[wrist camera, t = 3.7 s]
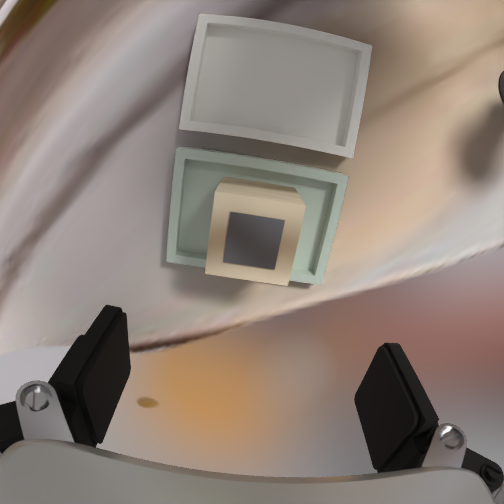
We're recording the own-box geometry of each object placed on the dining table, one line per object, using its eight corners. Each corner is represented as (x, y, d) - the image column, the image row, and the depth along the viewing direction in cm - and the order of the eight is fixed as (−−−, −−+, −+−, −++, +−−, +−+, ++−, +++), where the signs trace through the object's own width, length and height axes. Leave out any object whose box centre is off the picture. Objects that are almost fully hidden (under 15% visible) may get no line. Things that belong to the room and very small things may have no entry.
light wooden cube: (223, 176, 26) (214, 191, 20) (295, 187, 26) (306, 206, 21) (214, 244, 28) (204, 276, 23) (281, 254, 29) (287, 288, 23)
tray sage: (180, 146, 25) (176, 147, 24) (343, 173, 26) (348, 176, 25) (170, 255, 29) (166, 261, 28) (318, 277, 30) (321, 285, 29)
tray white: (202, 19, 21) (199, 13, 20) (366, 49, 22) (372, 45, 20) (182, 128, 25) (178, 129, 23) (347, 156, 26) (352, 158, 24)
